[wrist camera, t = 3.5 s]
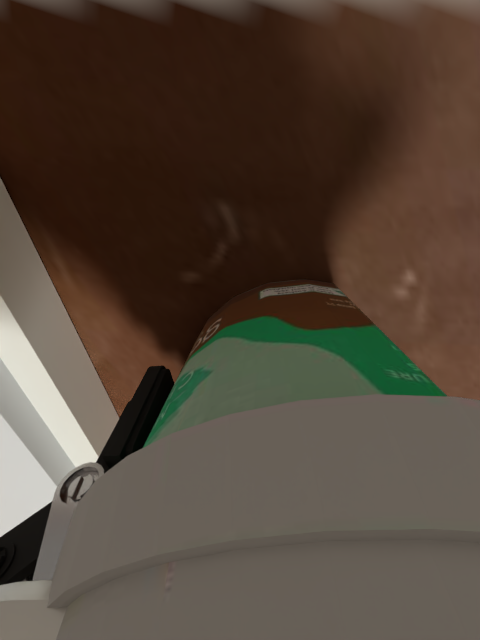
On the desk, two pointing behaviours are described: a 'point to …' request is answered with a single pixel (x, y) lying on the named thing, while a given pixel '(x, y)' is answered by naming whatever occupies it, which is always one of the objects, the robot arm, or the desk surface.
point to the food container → (285, 492)
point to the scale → (41, 382)
